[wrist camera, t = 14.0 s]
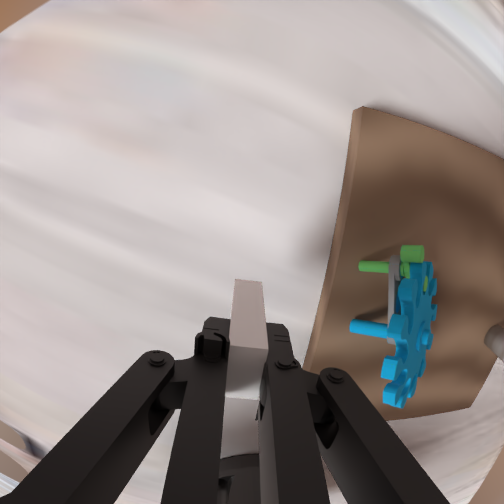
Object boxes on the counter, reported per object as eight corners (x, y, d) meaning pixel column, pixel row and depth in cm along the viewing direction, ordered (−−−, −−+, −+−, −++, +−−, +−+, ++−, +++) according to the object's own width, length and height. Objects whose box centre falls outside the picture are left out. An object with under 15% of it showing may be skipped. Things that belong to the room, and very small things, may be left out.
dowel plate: (462, 397, 28) (497, 444, 19) (290, 409, 27) (302, 485, 18) (535, 181, 21) (598, 196, 12) (352, 110, 19) (416, 84, 11)
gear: (436, 366, 21) (393, 442, 14) (376, 355, 26) (315, 416, 19) (445, 233, 20) (412, 261, 13) (377, 233, 24) (308, 256, 17)
